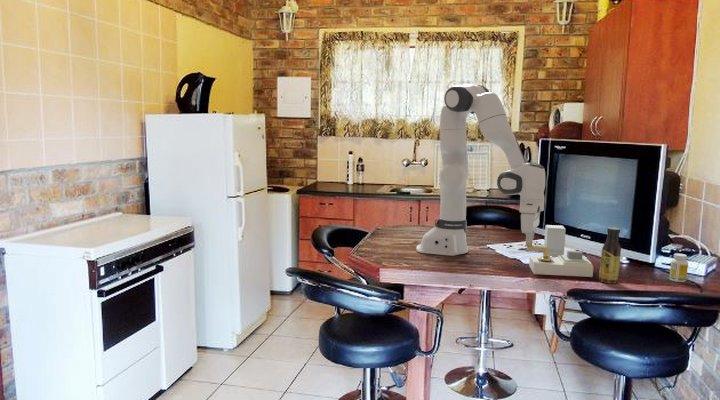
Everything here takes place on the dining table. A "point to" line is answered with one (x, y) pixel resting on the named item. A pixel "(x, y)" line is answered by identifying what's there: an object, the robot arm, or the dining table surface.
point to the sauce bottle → (610, 257)
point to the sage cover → (574, 257)
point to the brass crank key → (539, 248)
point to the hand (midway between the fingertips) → (529, 240)
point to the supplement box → (555, 239)
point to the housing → (560, 267)
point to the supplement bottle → (679, 268)
